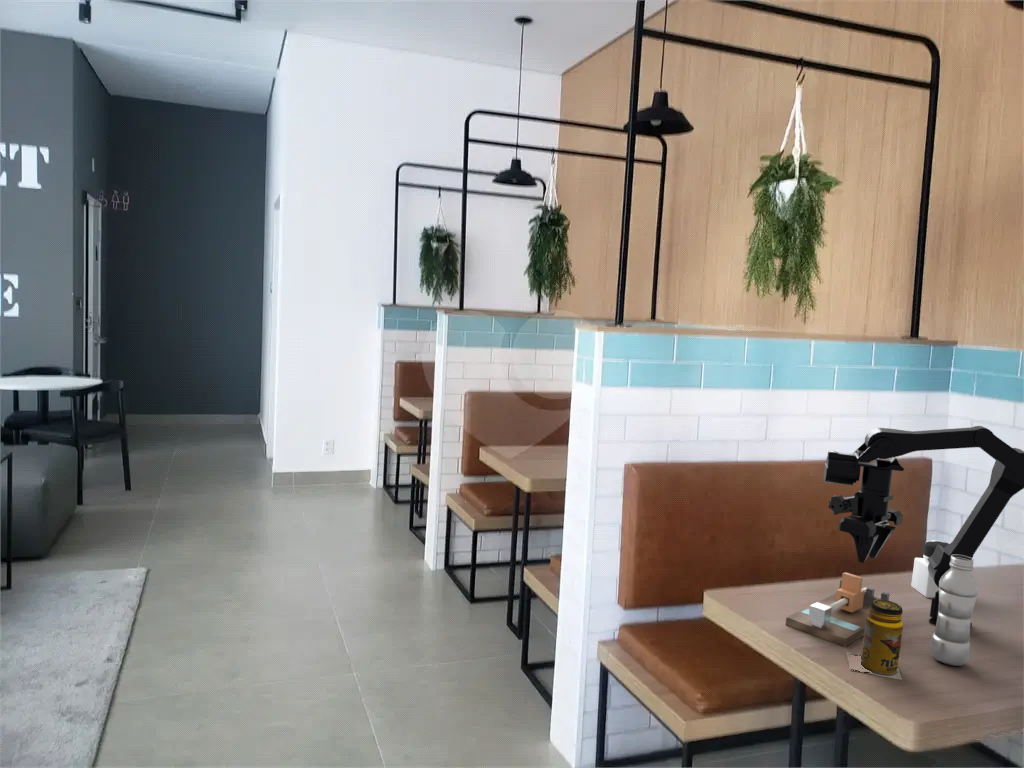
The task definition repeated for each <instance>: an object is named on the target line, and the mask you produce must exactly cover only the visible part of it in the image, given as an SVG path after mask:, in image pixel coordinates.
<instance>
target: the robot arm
mask: <svg viewBox="0 0 1024 768" xmlns="http://www.w3.org/2000/svg"><path fill="white" fill-rule="evenodd" d="M969 448H971V449H973V448H979V449H981V450H982V451H983V452H984V453H986V454H988V456H990V457H991V458H992V459H994V460H995V461H994V465H993V467H992V469H991V473H990V478H989V479H990V480H989V483H988V486H986V489H985V491H984V492H983V493H982V495H981V496H980V498H979V499H978V502H977V503H976V504H975V506H974V507H973V509H972V510H971V512H970V514H969V515H968V517H967V519H965V521H964V523H963V524H962V526H961V528H960V530H959V531H958V532H957V533H956V535H955V537H954V538H953V539H952V541H951V542H950V543H949V545H947V546H946V547H944V548H943V547H942V546H940V545H939V544H938V545H937V546H936V548H935V551H934V553H933V554H932V556H931V557H929V558H928V559H927V560H928V561H929V565H928V572H929V575H930V576H931V578H932V579H933V581H934V582H935V584H936V585H937V587H938V588H939V581H940V579H941V577H942V576H943V575H944V573H945V572H947V571H948V570H949V569H950V568H951V566H950V565H949V564H950V561H951V555H953V554H958V555H964V556H968V557H970V558H972V559H973V557H974V555H975V553H976V552H977V551H978V549H979V547H980V545H981V544H982V542H983V541H984V540H985V538H986V537H987V535H988V534H989V532H990V530H991V528H992V527H993V526H994V524H995V523H996V521H997V520H998V518H999V516H1000V515H1001V513H1002V512H1003V510H1004V509H1005V507H1006V506H1007V505H1008V503H1009V502H1010V500H1011V499H1012V497H1014V496H1015V495H1016V494H1019V492H1021V491H1022V490H1024V450H1022V449H1020V448H1017V447H1013V446H1010V445H1009V444H1008V443H1006V442H1005V441H1004V440H1002V439H1001V438H1000V437H998V436H997V435H996V434H994V432H993V431H992V430H991V429H988V428H987V427H985V426H982V425H975V426H972V427H959V428H958V427H956V428H943V429H931V430H916V431H911V430H902V429H899V428H898V429H896V428H886V427H875V428H872V429H871V430H869V431H868V433H866V435H865V437H864V442H863V443H861V445H860V446H858V447H857V448H856V450H854V451H853V453H847V452H846V453H845V452H839V451H835V450H828V451H827V456H826V461H825V463H824V468H823V483H827V484H829V483H830V484H836V485H845V486H853V485H854V484H856V483H857V482H859V481H860V476H861V482H860V490H857V491H856V492H854V495H853V496H843V495H841V494H840V495H833V496H831V497H830V500H829V501H828V502H829V503H828V509H830V510H831V511H832V513H833V514H832V515H833V516H836V515H840V514H849V513H851V515H848V516H845V517H843V518H841V519H839V521H838V527H837V528H838V530H839V531H840V532H845V533H848V534H849V535H850V536H851V537H852V538H853V541H854V546H855V551H856V555H857V560H858V562H859V563H861V564H864V563H865V562H866V561H867V559H868V557H869V558H872V559H875V558H876V557H877V556H878V554H879V553H880V551H881V550H882V548H883V547H884V545H885V544H886V543H887V541H888V540H889V538H890V536H892V535H893V534H892V533H893V532H894V531H895V530H896V527H895V526H900V525H902V524H903V520H904V519H903V518H904V515H903V514H902V512H901V511H900V510H899V509H894V508H891V507H889V506H890V501H892V500H894V494H892V493H891V488H892V481H893V473H894V471H899V472H903V471H904V470H905V468H904V467H903V466H902V464H901V463H900V462H899V461H898V458H897V457H901V456H904V455H907V454H911V453H914V452H919V451H920V452H921V451H923V452H924V451H938V450H939V451H940V450H953V449H954V450H956V449H969ZM888 459H889V460H888ZM861 467H862V472H861ZM861 474H862V475H861ZM890 522H893V524H894V526H893V525H890ZM938 611H939V591H937V592H936V593H935V597H934V598H931V602H930V611H929V612H930V613H929V617H930V618H929V619H928V622H929V623H931V624H933V625H936V623H937V619H938ZM972 626H973V623H972V622H970V628H971V627H972Z"/></svg>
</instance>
